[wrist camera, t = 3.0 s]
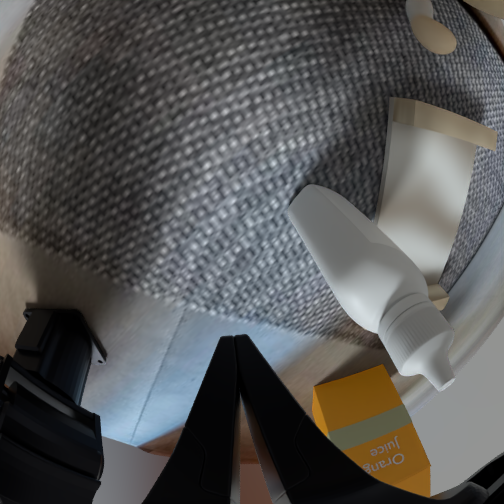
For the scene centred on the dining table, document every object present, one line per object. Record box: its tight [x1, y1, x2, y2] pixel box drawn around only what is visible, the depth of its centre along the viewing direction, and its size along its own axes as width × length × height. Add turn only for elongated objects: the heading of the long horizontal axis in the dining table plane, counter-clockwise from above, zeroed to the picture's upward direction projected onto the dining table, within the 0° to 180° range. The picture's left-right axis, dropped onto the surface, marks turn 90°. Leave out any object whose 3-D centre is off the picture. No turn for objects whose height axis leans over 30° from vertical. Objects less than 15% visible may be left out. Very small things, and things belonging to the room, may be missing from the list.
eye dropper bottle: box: [287, 184, 456, 392], centre depth 11 cm, size 4×6×12 cm
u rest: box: [363, 97, 498, 330], centre depth 16 cm, size 16×9×2 cm, turn 0°
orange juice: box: [312, 364, 431, 497], centre depth 21 cm, size 8×9×20 cm
